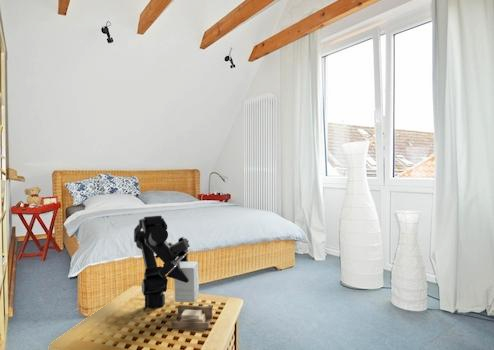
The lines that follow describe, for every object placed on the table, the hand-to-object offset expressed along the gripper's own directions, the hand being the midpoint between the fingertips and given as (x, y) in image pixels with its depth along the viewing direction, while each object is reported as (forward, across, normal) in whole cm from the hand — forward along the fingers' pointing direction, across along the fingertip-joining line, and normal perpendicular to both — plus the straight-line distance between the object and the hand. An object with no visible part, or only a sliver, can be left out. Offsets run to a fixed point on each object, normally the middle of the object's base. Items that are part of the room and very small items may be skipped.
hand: (190, 277), depth 121 cm
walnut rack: (+11, -8, +7) cm, 16 cm away
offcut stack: (+11, -9, +7) cm, 15 cm away
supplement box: (+5, 0, +7) cm, 8 cm away
